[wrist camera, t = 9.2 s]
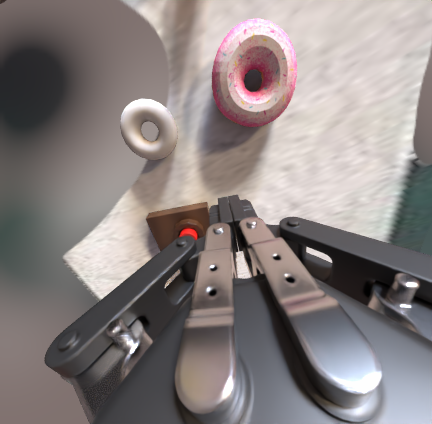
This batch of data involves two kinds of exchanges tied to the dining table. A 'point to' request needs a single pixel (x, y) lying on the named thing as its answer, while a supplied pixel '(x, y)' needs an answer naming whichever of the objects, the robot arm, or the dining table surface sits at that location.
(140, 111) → the donut
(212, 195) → the dining table surface
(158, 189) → the dining table surface
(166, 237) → the switch block
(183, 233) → the light button
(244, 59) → the donut
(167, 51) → the dining table surface
